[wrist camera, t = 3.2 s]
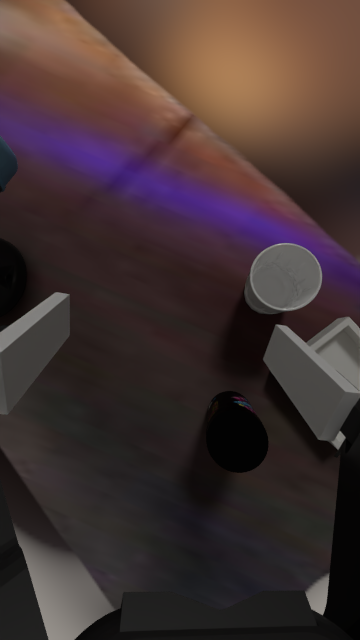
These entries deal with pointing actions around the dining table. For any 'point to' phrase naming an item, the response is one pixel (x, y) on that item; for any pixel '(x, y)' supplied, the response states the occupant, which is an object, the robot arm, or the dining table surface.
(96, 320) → the dining table surface
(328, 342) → the tray
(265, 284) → the white cup
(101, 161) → the dining table surface
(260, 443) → the supplement container
